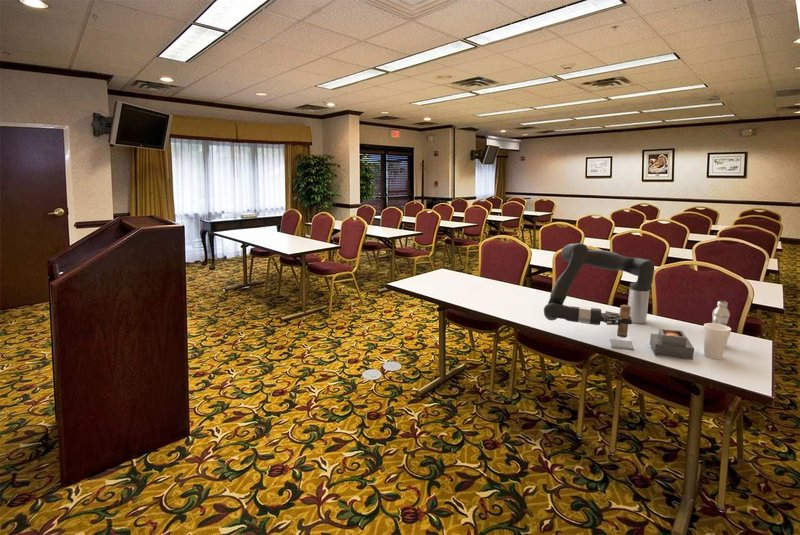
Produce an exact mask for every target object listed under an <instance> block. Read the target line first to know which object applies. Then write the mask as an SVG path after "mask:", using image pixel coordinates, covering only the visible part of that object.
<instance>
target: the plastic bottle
mask: <svg viewBox="0 0 800 535" xmlns="http://www.w3.org/2000/svg"><path fill="white" fill-rule="evenodd" d="M716 305H717V306H716V307H714V309H713V311H712V313H711V314H712V321H711V323H715V324H721V325H725V326H727V325H728V322H729V320H730V319H729V318H730V316H731V313H730V311H729V309H728V302H727V301H724V300H718V301H717V304H716Z"/></svg>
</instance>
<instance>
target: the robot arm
mask: <svg viewBox="0 0 800 535" xmlns="http://www.w3.org/2000/svg"><path fill="white" fill-rule="evenodd" d="M560 253H561V257H562V259H563V260H564V261H565V262H568V265H567V268H566V269H564V272H562V273H561V274H560V275H559V277H558V278H557V279H556V281H555V283H554V285H553V288H552V290H551V292H550V295H549V300H548V302H547V304H546V305H545V306H544V308H543V314H544V317H545V319H546V320H548V321H556V320H557V319H561V320H565V321H568V322H573V323H579V324H583V325H584V324H586V325H595V326H600V325H601V322H602V323H605V324H606V325H607V326H618V325H621V324H628V325H632V323H633V324H641V325H642V324H646V323H647V316H648V308H649V300H650V299H649V298H650V290H651V287H652V284H653V280H654V274H655V263H654V262H653V261H652V260H650V259H646V258H641V257H629V256H624V255H622V254H619V253H617V252H614V251H609V250H602V249H589V248H588V246H587V245H586V244H584V243H583V242H582V243H581V242H579V243H578V242H577V243H569V244H566V245H565V246H564V247H563V248H562V249H561V252H560ZM584 265H588V266H591V267H594V268H599V269H602V270H608V271H622V272H625V273H628V274H630V275H633V276H637V280H636V281H633V282H631V283H630V284H629V292H628V300H627V301H628V302H627V305H628V306H630V307H631V308H630V316H629V319H624V318H619V315H620V312H619V313H618V312H613V311H608V310H606V311H605V312H602V309H601V308H596V307H588V306H587V307H583V306H571V305H570V306H569V305H564V303H565V300H566V298H567V296H568V293H569V291H570V289H571V286H572V285H573V282H574V280H575V278H576V277H577V275H578V273H579V272H580V270H581V268H582V267H583V266H584Z"/></svg>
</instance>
